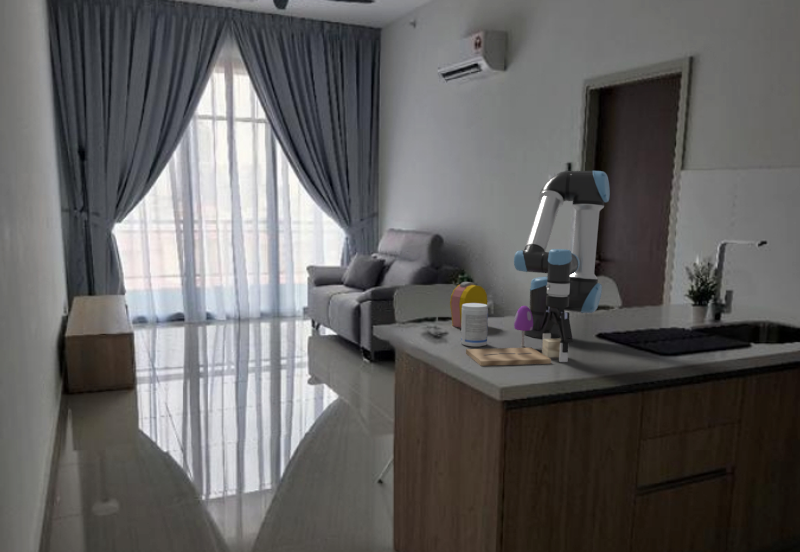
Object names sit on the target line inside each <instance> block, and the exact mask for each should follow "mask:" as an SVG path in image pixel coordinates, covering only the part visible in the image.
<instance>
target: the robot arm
mask: <svg viewBox="0 0 800 552" xmlns="http://www.w3.org/2000/svg"><path fill="white" fill-rule="evenodd" d="M610 194H611V192H610V182H609V177H608V174H607V173H606V172H605V171H601V170H565V171H560V172H558V173H557V174H555V175H553V176H552V177H550V178H549V179H548V180H547V182H545V184H544V185H543V187H542V188H541V190H540V192H539V195H538V202H539V204H538V206H537V209H536V213H535V216H534V219H533V221H532V225H531V228H530V230H529V233H528V237H527V239H526V243H525V246H524V249H523V250H522V249H521V250H517V251H516V252H515V253H514V256H513V266H514V269H515V270H516V271H519V272H524V273H537V274H547V276H539V277H534V278H532V279H531V282H530V286H529V287H530V288H529V307H528V308H529V309H530V311H531V313H532V317H533V329H532V330H530V331H525V332H524V336H525V335H526V336H527V337H531V338H538V339H542V341H541V343H542V345H541V348H542V347H543V339H558V338H561V341H560V352H559V359H558V362H560V363H568V362H569V361H568V360H569V343H573V340H574V339H573V335H572V328H571V327H572V326H571V321H570V312H572V313H573V312H574V313H581V314H583V313H585V314H592V313H594V312H595V311H597V309H598V307H599V304H600V301H601V297H602V293H603V292H602V289H603V286H602V284H601V283H600V282H599V281H598V280H599V278H598V277H597V276H596V274H595V267H596V257H597V243H598V233H599V232H598V231H599V222H600V220H599V219H600V212H601V210H602V209H604V207H605V203H608V202H610V201H609V200H610V196H611V195H610ZM564 202H572V207H573V208H574V209H575V222H574V233H573V234H574V235H573V242H572V243H573V245H572V250H570V249H567V248H566V249H565V248H552V249H550V250H549V251H548V252H547V247H548V244H549V242H550V237H551V235H552V230H553V228H554V225H555V223H556V218H557V216H558V213H559V208H561V207H562V206H563V205H564Z"/></svg>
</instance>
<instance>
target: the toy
mask: <svg viewBox="0 0 800 552" xmlns="http://www.w3.org/2000/svg"><path fill="white" fill-rule="evenodd" d="M514 316H515V317H514V323H513V326H514V328H513V329H514V330H517V331H521V341H520V342H521V343H520V347H521V348H525V334H524V332H525V331H530V330H532V329H533V317H532V313H531V311H530V309H529V307H528V306H527V305H522V306H520V307H519V308H518V310H517V312H516V313H515V315H514Z"/></svg>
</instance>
